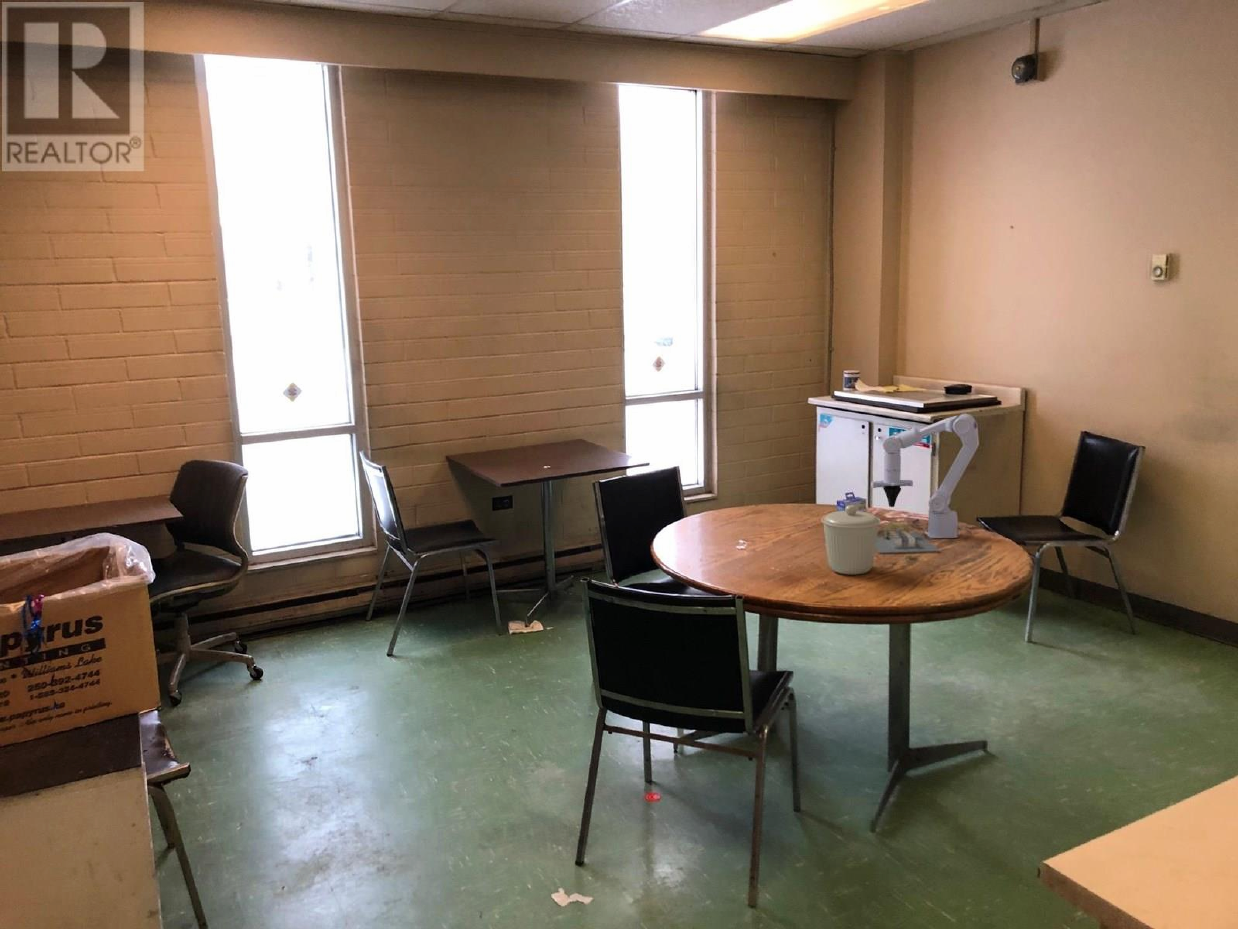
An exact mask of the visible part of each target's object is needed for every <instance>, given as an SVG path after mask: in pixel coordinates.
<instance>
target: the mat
mask: <svg viewBox="0 0 1238 929" xmlns="http://www.w3.org/2000/svg"><path fill="white" fill-rule="evenodd" d="M894 532H895V533H896V534H897V531H896V530H895V531H894ZM909 534H910V535H911V536H912V537H914V538H915V548H908V547H907V545H906V544H905V543H904V542H903V541H902V548H895V547H894V546H893V544H892V543H891V541H890V540H889V539H888V538H887V539H884V538H883V537H882V531H878V533H877V541H876V548H875V552H876V553H879V555H891V554H890V553H902V554H916V553H915V552H921V553H920V554H926V553H925V552H941V551H940V550H939V549H938V548H937V546H935V545H934V544H933V543H932V542H931V541H929V539H927V538H926V537H925V536H924V535H923V534H922V533H921V532H919V530H909Z"/></svg>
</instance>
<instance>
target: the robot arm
mask: <svg viewBox="0 0 1238 929" xmlns="http://www.w3.org/2000/svg"><path fill="white" fill-rule="evenodd" d="M978 428H979V426H978V423H977V421H976V419H975V417H974V416H973V415H972V414H969V413H962V414H960V415H955V416H954V415H953V416H950V417H948V418H944V419H942V420H940V421H936V422H935V423H934V422H933V423H932V424H929V425H927V426H924V427H922V428H917V427H912V426H911V427H908V428H907V429H906V430H904V431H901V432H895V433H894V434H893V435H889V436H888V437H887V438H886V439H884V440H883V443H882V448H883V450H884V457H883V480H877V481H876V480H875V481H871V482H870V483H871V484H870V487H871V488H872V489H876V488H882V489H883V491H884V494H885V495H886V498H887V502H888V506H889V507H890V508H895V505H896V502H897V499H898V496H899V494H900V493H901V492H902V487H913V486H914V481H913V480H912V479H901V474H902V473H901V470H902V469H901V466H902V462H901V461H902V460H901V459H902V457H901V451H902V450H901V449H907V448H910V447H912V446H915V445H917V444H920V443H922V441H923V438H926V437H929V436H932V435H935V434H937V433H938V434H939V433H941V432H944V431H945V432H949V433H953V432H954V433H955V434H956V435H957V437H959V438H960V441H961V444H962V447H961V448H960V450H959V452H958V454H957V456H956V457H955V460H954V461H953V463H952V465H951V466H950V468H949V470H948V472H947V474H946V476H945V477H944V479H943V480H942V483H941V484H940V486H939V488H938V490H936V491H935V492H934V493H933V495H932V496H931V497H930V498H929V500H928V507H929V509H928V528H927V529H928V531H924V534H926V535H927V536H928V538H930V539H955V538H958V537H959V536H958V526H959V525H958V522H959V520H958V514H957V511H955V510H951V509H950V507H949V504H951V502H952V497H951V496H952V494H953V493H954V490H955V488H956V487H957V484H958V483H959V481H960V479H961V478H962V477H963V474H964V472H965V470H966V469H967V467H968V465H969V463H970V461H971V460H972V459H973V456H974V455H975V453H976V451H977V450H978V447H979V445H980V442H979V441H980V439H979V430H978Z"/></svg>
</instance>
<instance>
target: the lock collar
mask: <svg viewBox="0 0 1238 929" xmlns="http://www.w3.org/2000/svg"><path fill="white" fill-rule="evenodd" d="M881 523H882V528H881V530H882V531H881V532H882V537H883V538H884V539H887V529H892V530H898V529H905V530H906V531H907V532H908V533H909V531H910V530H909V529H910V525H909V524H910V523H908V522H907V521H901V522H900V521H899V522H896V521H894V522H881Z"/></svg>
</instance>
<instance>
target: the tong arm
mask: <svg viewBox="0 0 1238 929" xmlns="http://www.w3.org/2000/svg"><path fill="white" fill-rule="evenodd" d="M895 532H896V531H895V530H894V529H887V538H888V539H889V540H890V541H891V543H892V544H893V546H894V547H895V548H902V539H901V538H900V537H898V535H897V534H896V533H895Z"/></svg>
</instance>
